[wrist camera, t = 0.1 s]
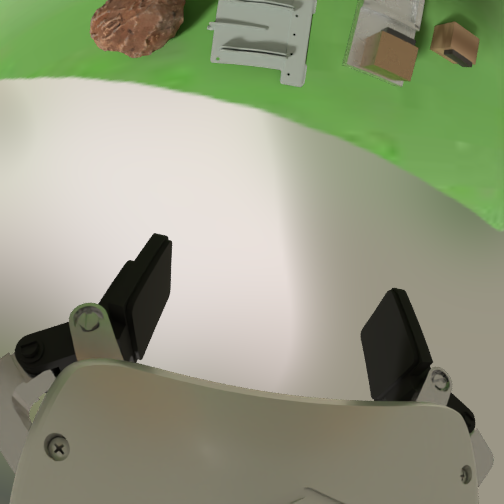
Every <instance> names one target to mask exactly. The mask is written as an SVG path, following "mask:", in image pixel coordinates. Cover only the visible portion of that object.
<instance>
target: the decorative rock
mask: <svg viewBox="0 0 504 504" xmlns="http://www.w3.org/2000/svg"><path fill="white" fill-rule="evenodd" d="M184 5H185V0H108V1H106V3H105V4H104V5H103V6H102V7H101V8H99V9H97V10H96V12H95V13H94V15H93V17H92V19H91V25H90V27H91V29H90V34H91V38H92V39H93V40H94V41H95V43H96V45H97V46H98V47H99V48H100V49H102V50H104V51H107V50H108V51H118V52H122V53H124V54H126V55H128V56H129V57H132V58H137V57H141V56H145V55H150V54H151V53H152V52H154V51H155V50H158V49H160V48H162V47H163V46H164V45H165V44H166V43H167V41H168V40H169V39H170V38H173V37H175V34H176V32H177V31H178V29H179V27H180V25H181V24H182V23H183V21H184V15H183V8H184Z"/></svg>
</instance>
